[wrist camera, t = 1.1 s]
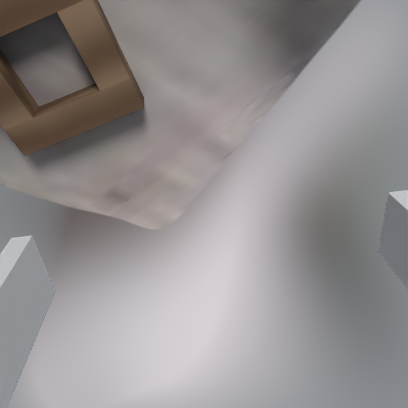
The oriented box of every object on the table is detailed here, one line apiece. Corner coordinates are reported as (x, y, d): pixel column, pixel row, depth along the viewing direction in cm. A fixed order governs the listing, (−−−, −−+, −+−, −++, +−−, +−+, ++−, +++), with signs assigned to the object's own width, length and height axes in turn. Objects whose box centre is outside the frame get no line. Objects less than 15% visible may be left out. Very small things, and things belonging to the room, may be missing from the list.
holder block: (-66, 15, 28) (-81, 21, 26) (74, -49, 27) (69, -47, 25) (30, 143, 35) (24, 155, 33) (143, 97, 34) (144, 107, 32)
